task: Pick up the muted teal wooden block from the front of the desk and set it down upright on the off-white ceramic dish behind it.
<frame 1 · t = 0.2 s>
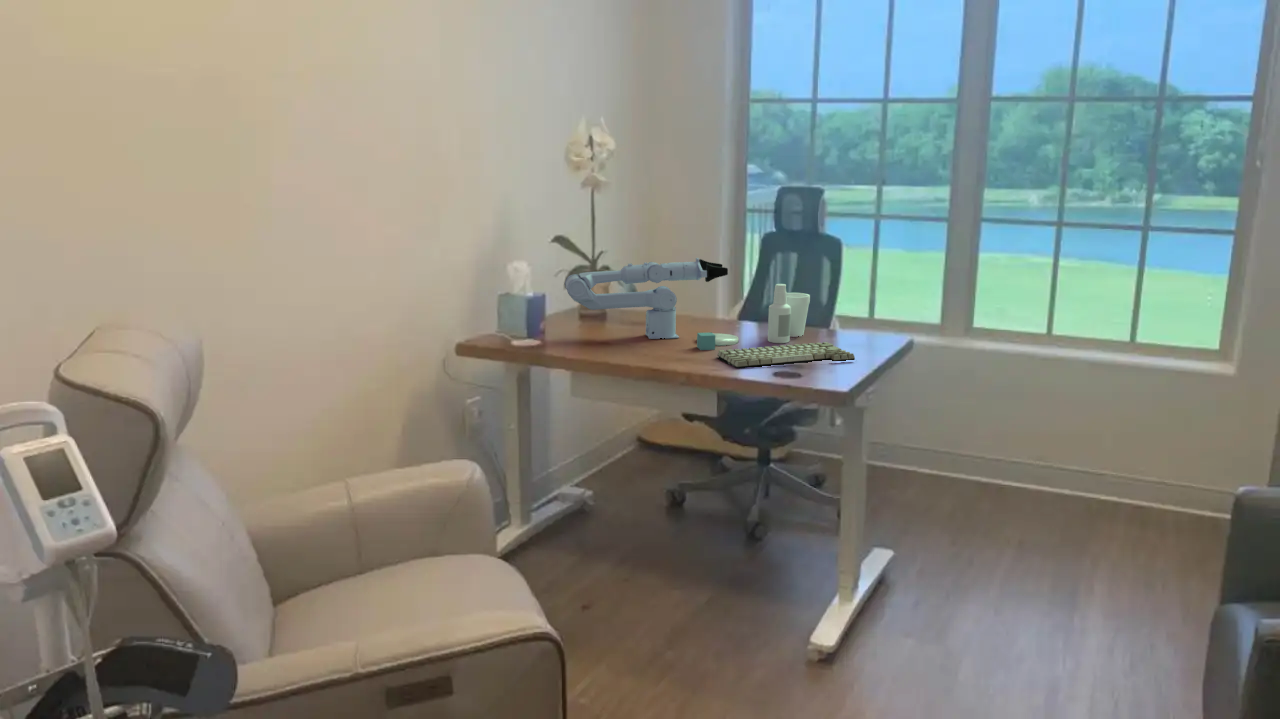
hand: (724, 269, 323), 21 cm above the table, tool horizontal, fingers open, 7 cm apart
mechanical keyboard: (785, 362, 295), on the table
spray bottle: (778, 341, 319), on the table
dish: (717, 341, 318), on the table
foam cup: (793, 335, 329), on the table
teal block: (706, 348, 309), on the table
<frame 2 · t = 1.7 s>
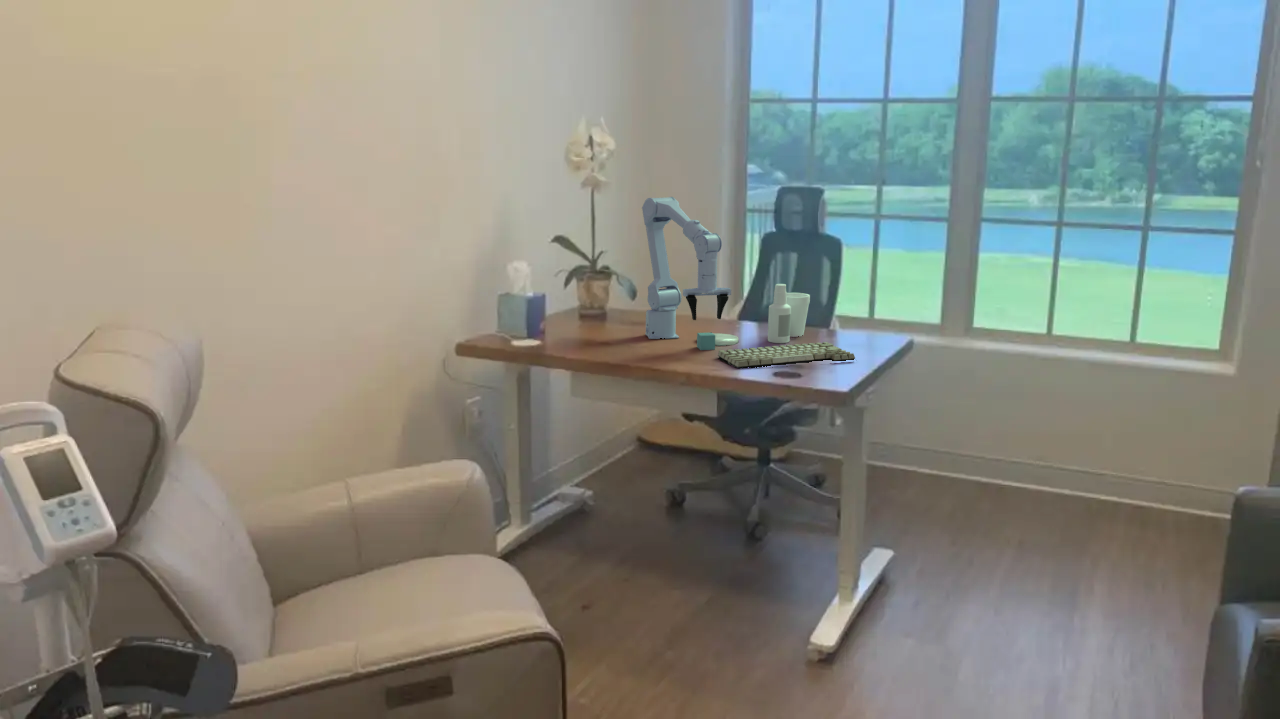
hand: (706, 319, 307), 9 cm above the table, tool pointing down, fingers open, 7 cm apart
nothing on the table moved.
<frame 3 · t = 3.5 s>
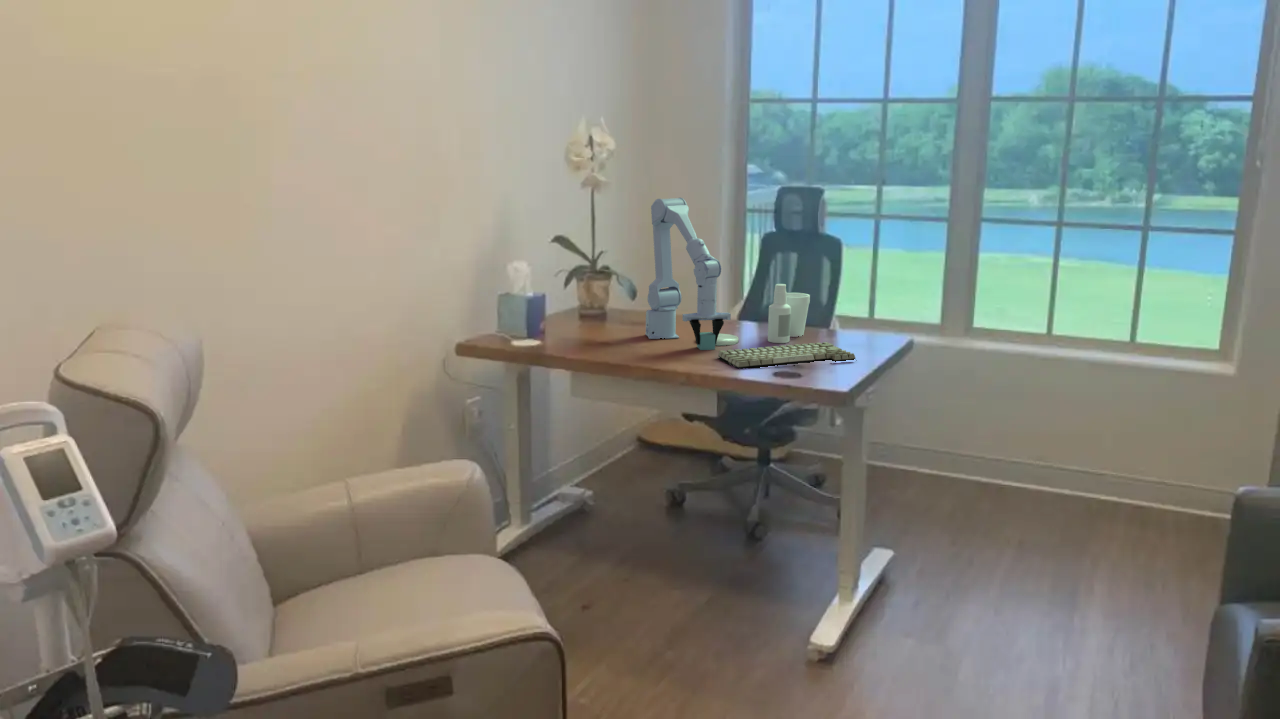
hand: (706, 343, 308), 1 cm above the table, tool pointing down, fingers closed on teal block, 4 cm apart
teal block: (706, 348, 309), on the table, touching gripper
everything else where it was.
when the fingers open (4 cm above the table, at t = 7.0 s): teal block stays where it is, resting on dish.
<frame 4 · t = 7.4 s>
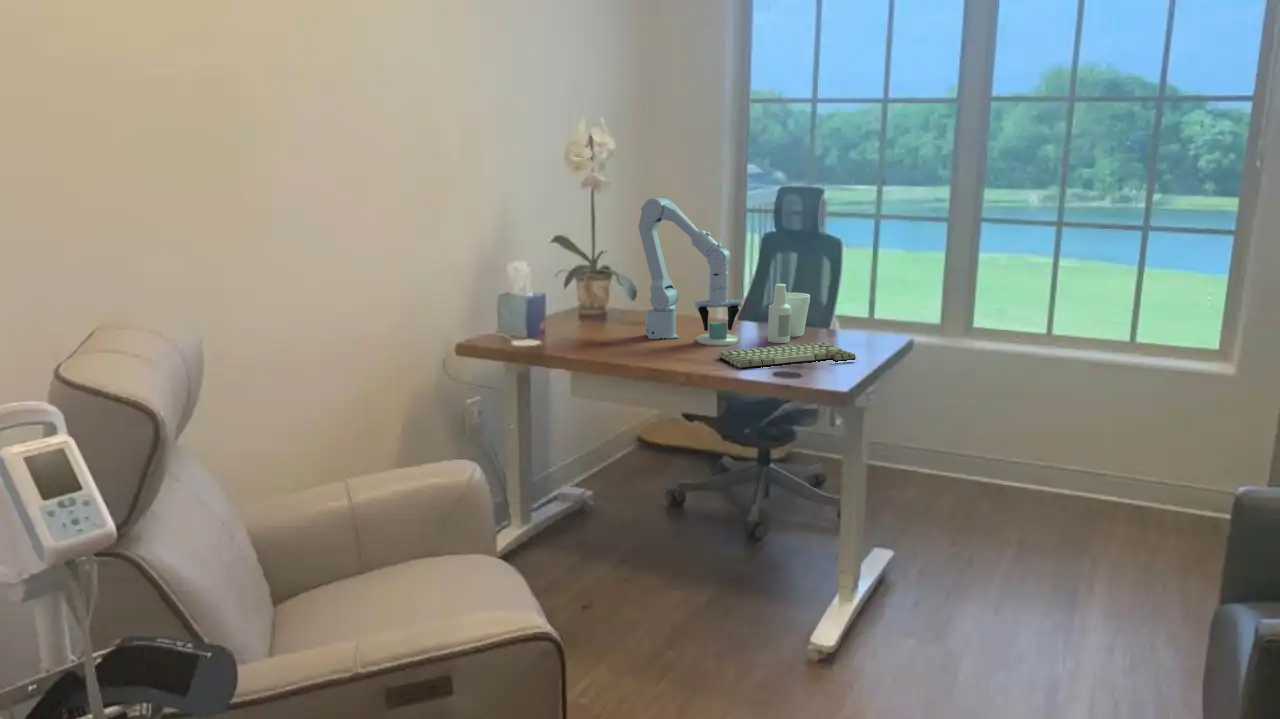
hand: (717, 330, 318), 4 cm above the table, tool pointing down, fingers open, 7 cm apart
teal block: (717, 337, 318), point 1 cm above the table, touching dish
everything else where it was.
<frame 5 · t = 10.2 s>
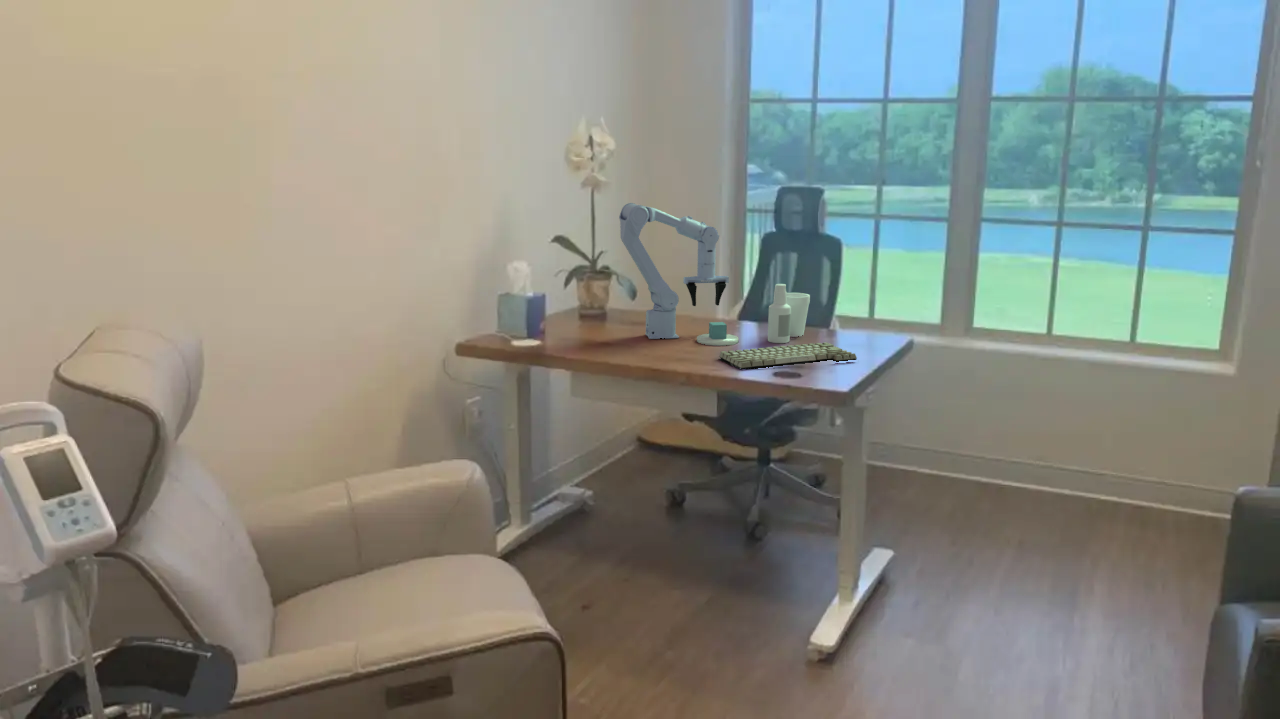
hand: (705, 305, 328), 9 cm above the table, tool pointing down, fingers open, 7 cm apart
nothing on the table moved.
at the end: teal block inside the target area on the dish (0.1 cm from its centre), point 1.2 cm above the dish's base; teal block tilted 0°; the gripper is holding nothing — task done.
